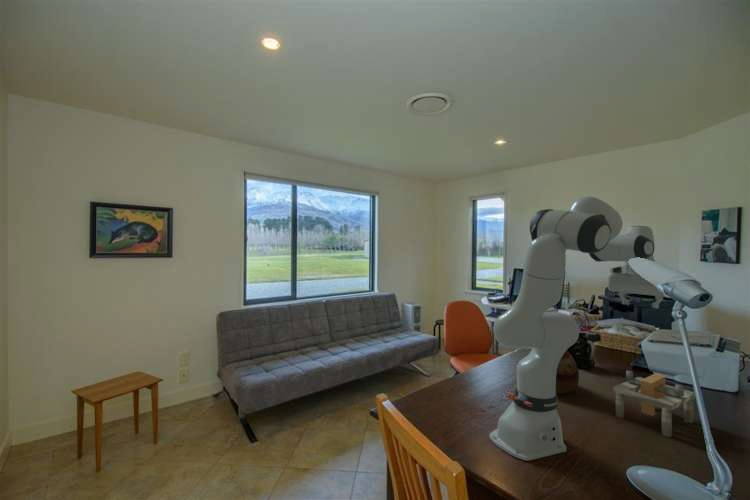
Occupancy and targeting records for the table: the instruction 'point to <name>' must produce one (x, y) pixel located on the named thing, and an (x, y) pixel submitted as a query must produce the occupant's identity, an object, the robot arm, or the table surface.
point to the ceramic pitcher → (566, 374)
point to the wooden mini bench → (651, 392)
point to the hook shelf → (656, 400)
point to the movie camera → (584, 349)
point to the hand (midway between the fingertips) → (639, 306)
